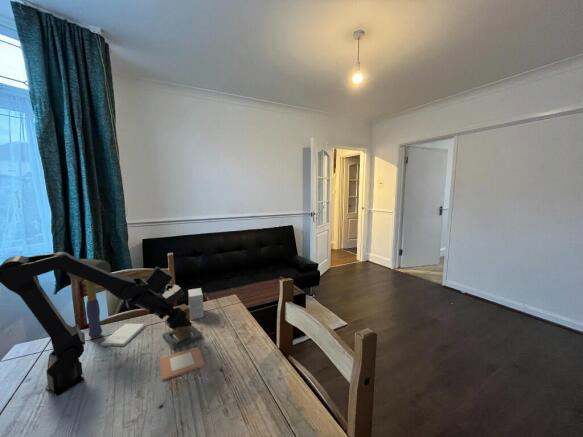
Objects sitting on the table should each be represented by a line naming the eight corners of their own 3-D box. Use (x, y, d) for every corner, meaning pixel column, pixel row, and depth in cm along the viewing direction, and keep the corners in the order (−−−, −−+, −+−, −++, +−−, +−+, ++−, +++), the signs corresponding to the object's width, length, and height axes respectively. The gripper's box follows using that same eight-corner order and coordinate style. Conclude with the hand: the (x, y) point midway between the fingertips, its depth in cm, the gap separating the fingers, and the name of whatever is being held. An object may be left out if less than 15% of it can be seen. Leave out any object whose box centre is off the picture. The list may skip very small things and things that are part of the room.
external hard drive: (145, 327, 101) (123, 347, 88) (125, 327, 101) (101, 346, 89) (145, 323, 100) (123, 343, 88) (125, 323, 101) (100, 342, 88)
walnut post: (178, 344, 90) (176, 312, 88) (172, 337, 93) (170, 307, 92) (192, 337, 94) (191, 307, 92) (186, 332, 97) (185, 303, 95)
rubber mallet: (118, 332, 96) (112, 257, 92) (100, 345, 89) (92, 263, 85) (91, 329, 98) (83, 255, 94) (71, 340, 91) (62, 261, 87)
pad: (162, 380, 73) (162, 378, 73) (159, 360, 81) (159, 358, 81) (204, 365, 79) (204, 363, 79) (198, 348, 87) (198, 346, 87)
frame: (173, 350, 86) (173, 346, 86) (162, 337, 93) (162, 334, 93) (202, 337, 94) (202, 333, 93) (190, 326, 101) (189, 323, 100)
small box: (188, 311, 113) (187, 289, 111) (202, 309, 115) (201, 287, 114) (189, 320, 105) (188, 296, 104) (203, 317, 108) (202, 294, 106)
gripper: (179, 289, 81) (211, 309, 91) (158, 274, 94) (188, 293, 103) (154, 320, 76) (191, 338, 86) (136, 301, 89) (170, 318, 99)
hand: (185, 319), depth 94 cm, fingers open, 9 cm apart
